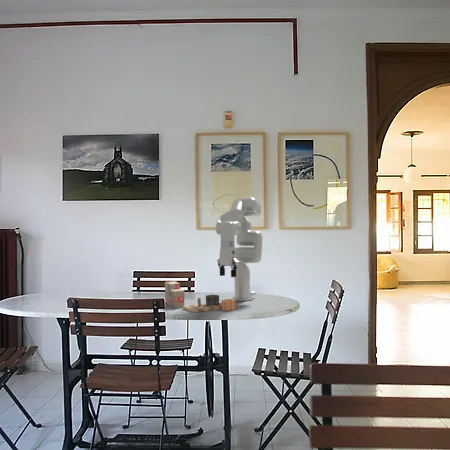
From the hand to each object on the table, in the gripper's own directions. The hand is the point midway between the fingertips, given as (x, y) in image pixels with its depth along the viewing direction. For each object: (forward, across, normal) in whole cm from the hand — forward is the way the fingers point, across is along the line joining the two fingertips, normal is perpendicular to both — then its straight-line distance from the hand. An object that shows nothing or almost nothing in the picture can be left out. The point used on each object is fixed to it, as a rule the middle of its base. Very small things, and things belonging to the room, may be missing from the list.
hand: (227, 276), depth 259 cm
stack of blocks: (+18, +34, +13) cm, 41 cm away
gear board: (+18, +11, +7) cm, 22 cm away
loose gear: (+18, 0, 0) cm, 18 cm away
